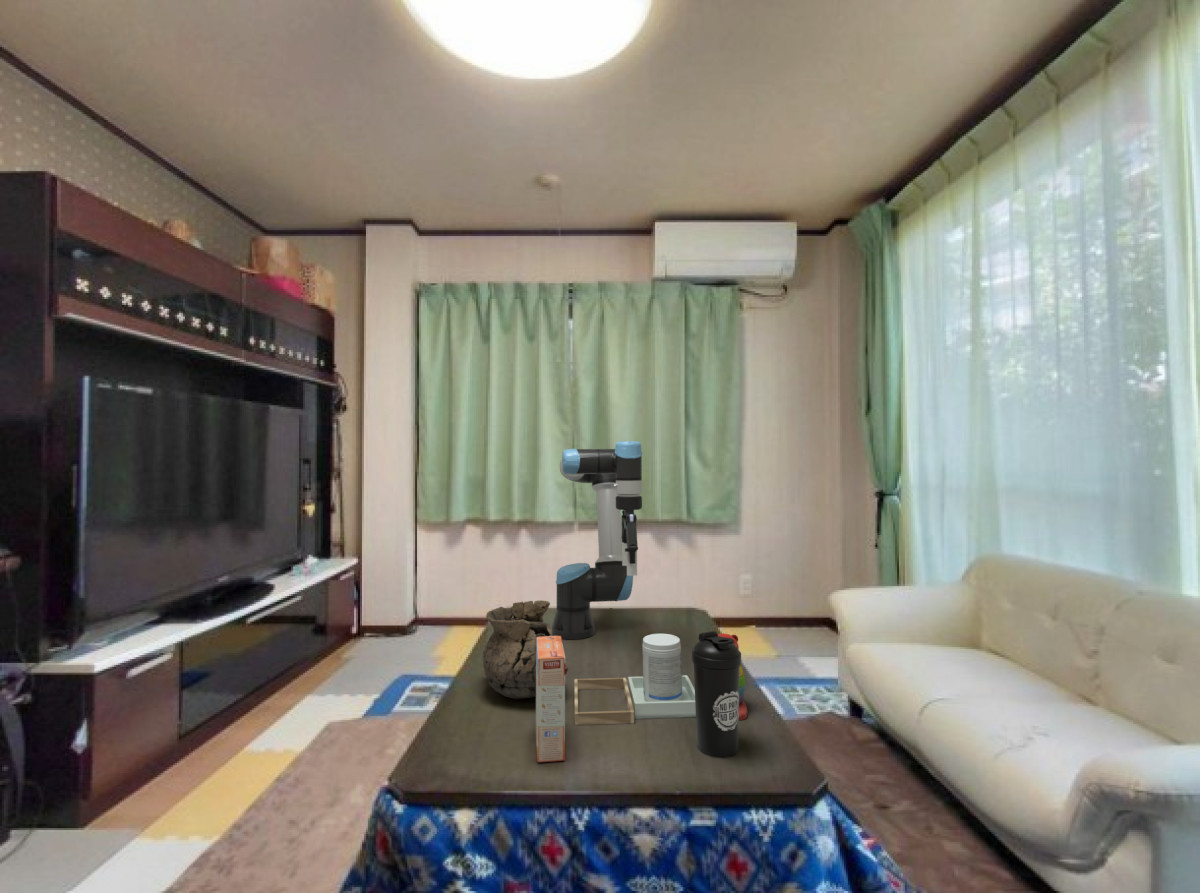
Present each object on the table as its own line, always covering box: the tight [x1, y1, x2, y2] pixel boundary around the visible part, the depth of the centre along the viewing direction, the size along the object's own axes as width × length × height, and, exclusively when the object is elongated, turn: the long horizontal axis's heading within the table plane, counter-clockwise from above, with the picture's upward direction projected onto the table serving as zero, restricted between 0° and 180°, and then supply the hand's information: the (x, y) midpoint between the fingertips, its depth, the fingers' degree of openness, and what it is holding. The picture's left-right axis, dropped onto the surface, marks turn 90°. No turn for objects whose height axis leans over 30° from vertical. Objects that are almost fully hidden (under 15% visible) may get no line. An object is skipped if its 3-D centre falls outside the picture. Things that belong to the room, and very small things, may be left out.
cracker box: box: [535, 635, 566, 763], centre depth 116 cm, size 14×6×21 cm, turn 7°
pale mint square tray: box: [627, 674, 696, 720], centre depth 135 cm, size 16×16×4 cm
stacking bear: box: [717, 632, 748, 721], centre depth 132 cm, size 11×10×18 cm
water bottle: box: [691, 630, 742, 759], centre depth 115 cm, size 10×10×23 cm
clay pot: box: [482, 599, 569, 700], centre depth 142 cm, size 25×24×22 cm
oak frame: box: [573, 677, 635, 726], centre depth 134 cm, size 20×14×2 cm
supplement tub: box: [641, 633, 683, 702], centre depth 136 cm, size 10×10×15 cm
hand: (629, 570), depth 155 cm, fingers open, 13 cm apart
